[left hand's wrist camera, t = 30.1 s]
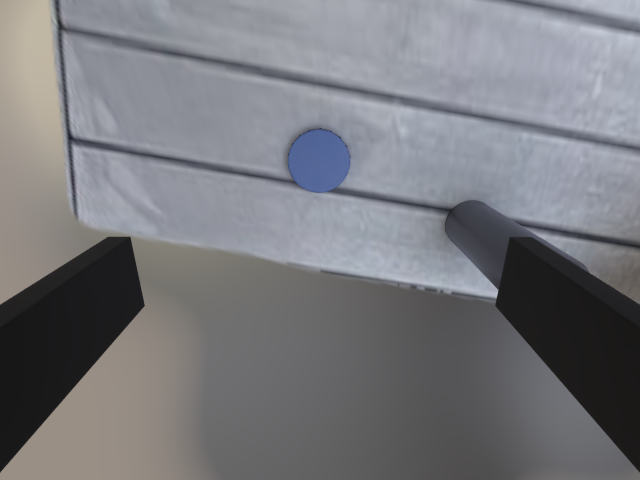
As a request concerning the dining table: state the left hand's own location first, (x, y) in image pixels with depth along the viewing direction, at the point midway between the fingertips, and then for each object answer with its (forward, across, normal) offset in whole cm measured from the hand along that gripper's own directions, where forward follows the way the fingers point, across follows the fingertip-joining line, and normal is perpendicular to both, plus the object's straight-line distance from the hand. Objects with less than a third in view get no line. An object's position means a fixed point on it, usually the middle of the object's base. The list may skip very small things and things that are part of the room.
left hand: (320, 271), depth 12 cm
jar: (+28, +18, -8) cm, 34 cm away
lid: (+27, 0, 0) cm, 27 cm away
